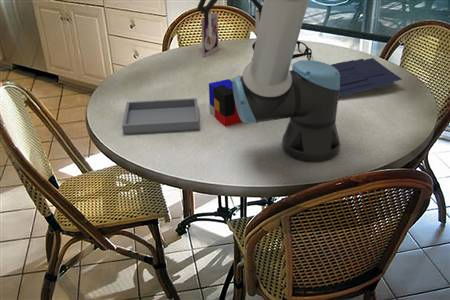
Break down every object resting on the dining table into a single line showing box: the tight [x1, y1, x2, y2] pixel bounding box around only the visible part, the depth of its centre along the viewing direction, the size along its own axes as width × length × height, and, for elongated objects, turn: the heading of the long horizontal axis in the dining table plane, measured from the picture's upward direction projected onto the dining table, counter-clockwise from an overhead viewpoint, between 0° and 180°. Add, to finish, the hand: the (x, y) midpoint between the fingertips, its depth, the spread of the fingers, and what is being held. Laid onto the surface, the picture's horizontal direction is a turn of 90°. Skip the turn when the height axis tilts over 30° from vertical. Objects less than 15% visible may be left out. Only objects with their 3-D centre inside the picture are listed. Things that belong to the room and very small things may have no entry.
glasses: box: [292, 40, 313, 60], centre depth 188 cm, size 17×18×5 cm
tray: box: [121, 97, 200, 136], centre depth 145 cm, size 16×22×3 cm
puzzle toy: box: [208, 77, 244, 128], centre depth 144 cm, size 10×10×10 cm
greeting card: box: [200, 12, 219, 58], centre depth 192 cm, size 11×7×15 cm, turn 149°
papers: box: [330, 57, 403, 98], centre depth 166 cm, size 24×30×4 cm
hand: (233, 34), depth 140 cm, fingers open, 13 cm apart
